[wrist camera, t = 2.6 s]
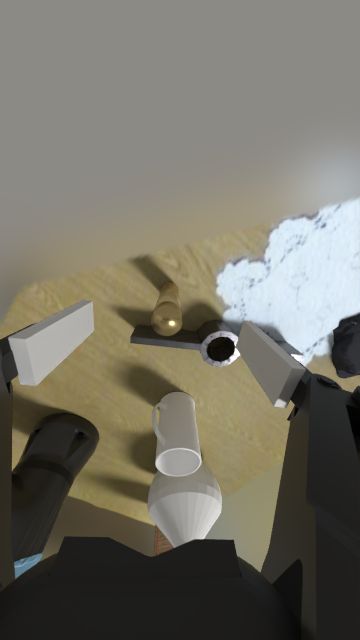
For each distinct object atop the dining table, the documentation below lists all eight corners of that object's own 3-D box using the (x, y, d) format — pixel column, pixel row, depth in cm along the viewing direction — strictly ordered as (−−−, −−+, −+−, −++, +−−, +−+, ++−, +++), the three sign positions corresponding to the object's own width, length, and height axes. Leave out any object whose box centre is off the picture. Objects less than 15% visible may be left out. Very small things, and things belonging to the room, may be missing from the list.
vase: (143, 449, 45) (124, 575, 28) (209, 438, 45) (233, 559, 27) (160, 486, 52) (153, 606, 34) (218, 476, 51) (241, 594, 34)
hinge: (135, 343, 33) (129, 357, 29) (137, 310, 31) (131, 320, 26) (279, 358, 36) (295, 373, 31) (292, 329, 34) (311, 341, 29)
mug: (143, 392, 38) (131, 449, 27) (174, 376, 37) (175, 428, 26) (172, 422, 42) (171, 483, 31) (201, 408, 41) (211, 466, 29)
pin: (160, 297, 30) (149, 334, 16) (162, 281, 29) (152, 304, 15) (177, 299, 30) (180, 337, 16) (179, 283, 29) (184, 308, 15)
